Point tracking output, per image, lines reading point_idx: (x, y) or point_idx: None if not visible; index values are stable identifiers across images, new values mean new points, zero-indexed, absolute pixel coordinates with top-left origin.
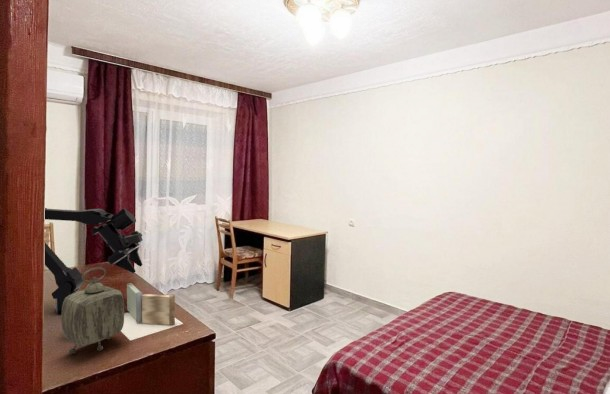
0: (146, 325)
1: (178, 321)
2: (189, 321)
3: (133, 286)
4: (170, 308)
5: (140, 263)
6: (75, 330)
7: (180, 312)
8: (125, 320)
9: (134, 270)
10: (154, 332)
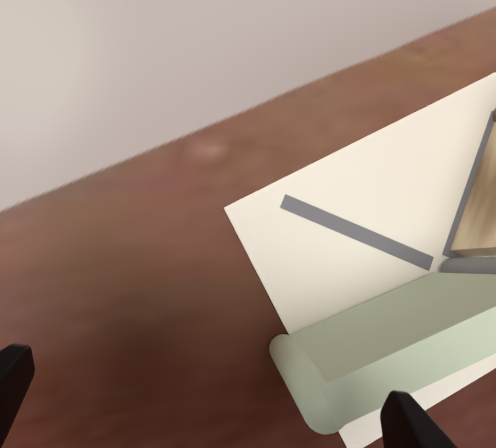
0: None
1: (475, 89)
2: (472, 43)
3: (409, 356)
4: None
5: (8, 382)
6: None
7: (353, 82)
8: None
9: (423, 411)
10: None
